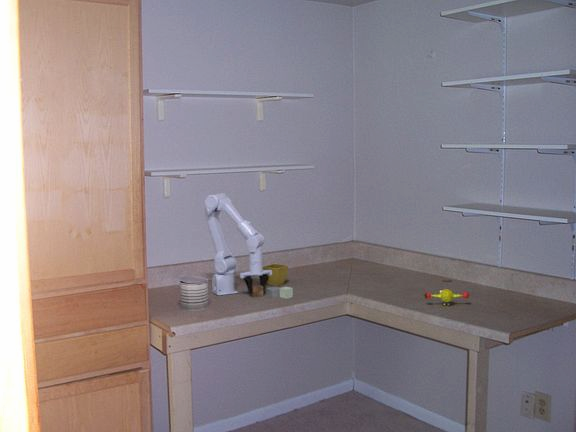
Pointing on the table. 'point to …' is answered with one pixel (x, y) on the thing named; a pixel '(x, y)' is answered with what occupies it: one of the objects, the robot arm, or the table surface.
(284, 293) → the sage cube
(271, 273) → the robot arm
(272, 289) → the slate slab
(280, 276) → the flower pot
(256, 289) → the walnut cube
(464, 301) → the table surface
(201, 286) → the can
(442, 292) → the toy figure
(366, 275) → the table surface
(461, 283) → the table surface
